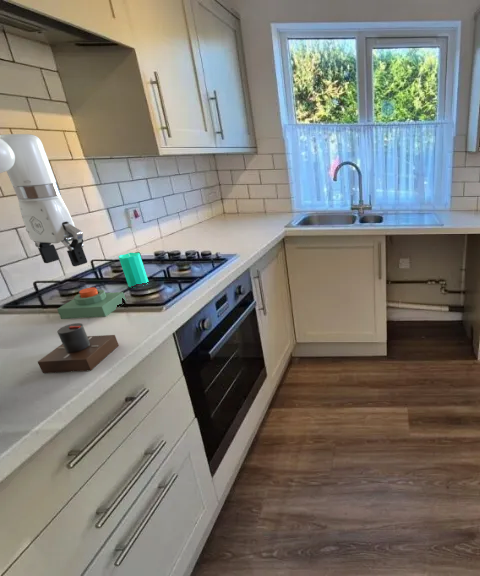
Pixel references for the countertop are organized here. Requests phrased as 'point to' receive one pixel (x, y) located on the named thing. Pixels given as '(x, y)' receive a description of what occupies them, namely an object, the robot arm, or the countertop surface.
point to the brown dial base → (79, 356)
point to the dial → (73, 337)
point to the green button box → (91, 305)
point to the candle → (133, 268)
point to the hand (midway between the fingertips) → (66, 263)
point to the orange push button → (88, 292)
